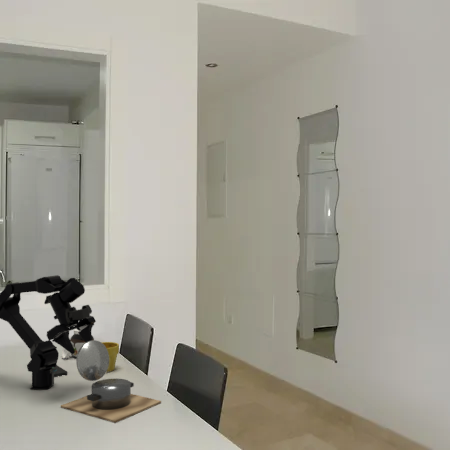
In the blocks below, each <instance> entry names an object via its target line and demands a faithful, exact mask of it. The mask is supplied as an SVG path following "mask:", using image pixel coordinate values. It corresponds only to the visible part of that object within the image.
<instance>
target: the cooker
mask: <svg viewBox="0 0 450 450" xmlns="http://www.w3.org/2000/svg"><path fill="white" fill-rule="evenodd" d="M134 386H135V383H134V382H131V381H130V380H128V379H124V378H107V379H106V378H105V379H101V380H100V379H99V380H96V381H95V382H92V384H91V394H87V395H86V396H87V400H91V401H92V407H94V408H96V409H100V410H114V409H119V408H123V407H126V406H128V405H129V404H130V403H131V394H132V393H131V388H133V387H134Z"/></svg>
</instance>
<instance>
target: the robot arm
mask: <svg viewBox="0 0 450 450" xmlns="http://www.w3.org/2000/svg"><path fill="white" fill-rule="evenodd" d="M85 291H86V290H85V286H84V285H83V284H82V282H80V281H78V280H77V279H76V278H75V277H71V278H69V279H68V280H67V281H66V280H63V279H62V277H61V276H60V275H59V274H57V275H48V276H43V277H40V278H37V279H36V280H33V281H32V280H31V281H24V282H19V281H18V282H12V283H11V282H10V283H8V284H6V285H5V287H4V289H3V290H2V291H1V292H0V319H1V320H3V321H5V322H7V323H8V324H9V325H10V327H12V329H13V330H14V332H15V333H16V334H17V335H18V336H19V337H20V339H21V340H22V341H23V343H24V344H25V345H26V347H27V348H28V349H29V351H30V352H29V356H30V359H31V360H30V361H29V362H28V363H27V364H26V368H27V371H28V372H30V373H31V387H30V390H49V389H51V387H53V385H54V384H55V377H54V372H52V368H53V367H56V365H57V363H58V360H59V356H60V355H59V351H58V348H57V346H55V345H54V343H53V342H55V343H56V344H58V345H59V346H60V347H62V349H63V348H65V349H66V350H67V351H69V352H70V355H71V354H73V353H75V351H74V348H73V346H72V343H71V341H70V331H74V329H77V330H79V332H78V333H79V334H80V336H81V337H82V338H83V340H84V341H85V342H88V341H92V336H93V335H92V329H93V327H94V326H95V323H96V322H97V321H96V319H95V316H92V315H91V314H92V312H93V310H92V308H91V306H90V304H86V305H82V306H81V308H80V309H77V308H76V307H75V306H72V305H71V303H73V302H75V301H76V300H77V299H78V298H81V296H83V295H84V294H85ZM33 292H37V293H39V294H45V295H46V294H50V295H46V296H45V299H44V305H48V304H49V305H50V306H51V308H52V310H53V312H54V316H53V319H54V320H57V321H58V324H56V325H54V326H53V327H51V329H49V330H48V331H46V338H47V339H48V340H45V341H44V340H42V339H41V337H40V336H39V335H38V333H37V332H36V331H35V330H34V328H32V326H31V325H30V324H29V322H28V321H27V320H26V319H25V317H24V316H23V315H22V314H21V312H20V311H21V310H20V309H21V308H20V304H19V303H20V302H21V300H22V299H21V298H22V297H21V294H23V293H33Z"/></svg>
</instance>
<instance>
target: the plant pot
mask: <svg viewBox="0 0 450 450" xmlns="http://www.w3.org/2000/svg"><path fill="white" fill-rule="evenodd" d="M100 342H101V343H103V344H104V345H105V347H106V348H107V351H108V354H109V366H108V369H107V371H106V373H109V372H113V371H114V370H115V369H116V364H117V363H116V362H117V357H118V354H119V353H120V345H119V343H118V342H114V341H104V342H103V341H100Z"/></svg>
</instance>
